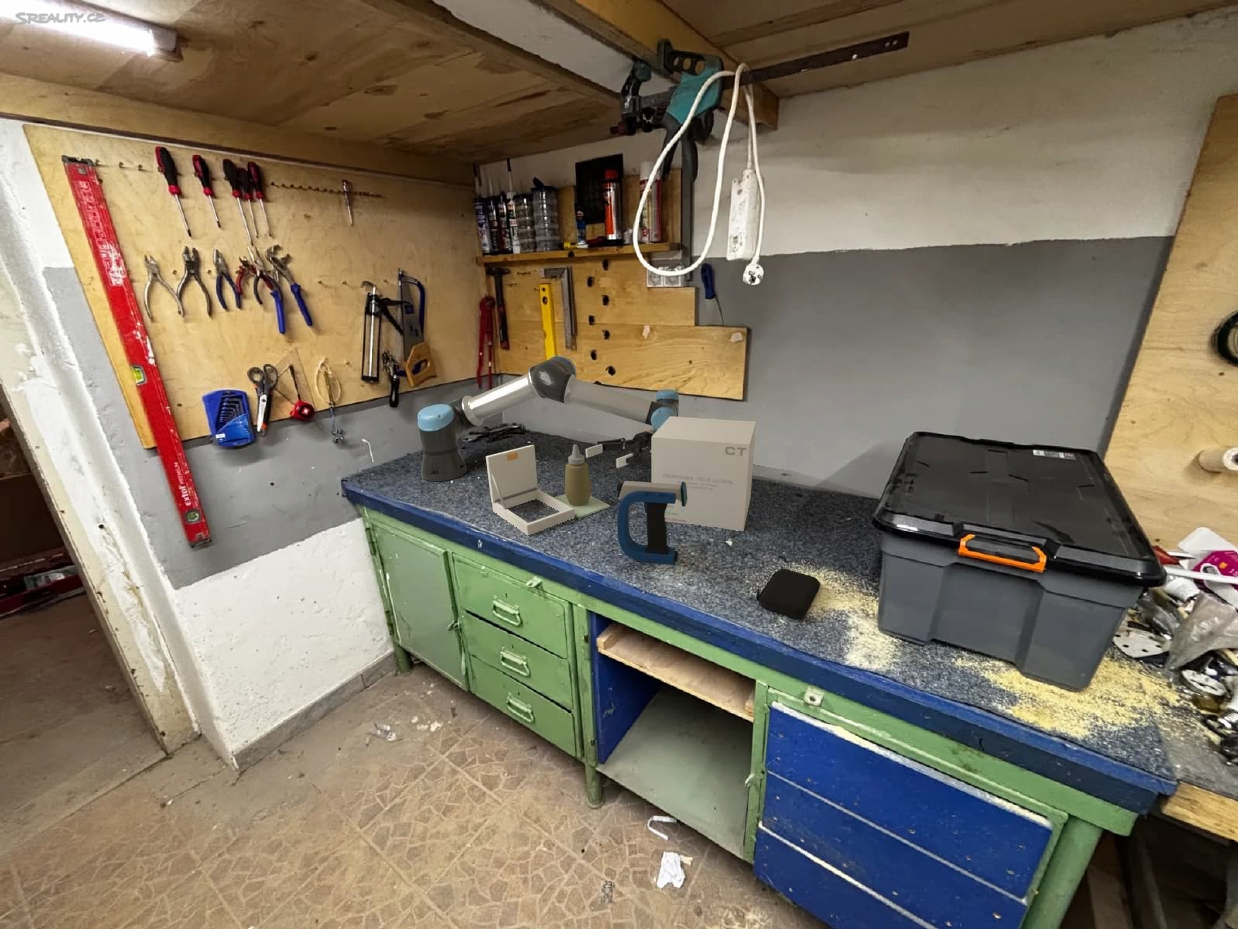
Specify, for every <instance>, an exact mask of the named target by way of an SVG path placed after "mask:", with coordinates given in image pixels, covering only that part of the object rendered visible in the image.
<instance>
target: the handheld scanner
mask: <svg viewBox="0 0 1238 929" xmlns="http://www.w3.org/2000/svg"><path fill="white" fill-rule="evenodd" d="M616 491H617V492H616V497H617V498H618V501H620V503H619V504H618V508H617V516H616V517H617V518H616V530H617V540H618V544H619V547H620V549H621V551H622V552H623V554H625V555H626V556H627V557H628V558H630V559H631V560H633V561H637V562H640V563H650V564H651V563H652V564H662V565H674V563H675V562H677V560H678V558H679V552H678V550H676V549H677V548H676V547H672V546H669V545H668V530H667V529H668V526H667V521H665V510H666V508H667V504H675V502H676V499H677V500H679V501H680V502H682V506H683V507H685V506H686V504H687V489H686V483H685V482H682V483H681V485H679V484H664V483H652V482H648V481H647V482H645V481H635V480H634V481H633V480H632V481H631V480H624V482H621V483H620V482H618V483H617V484H616ZM637 502H639V503H640V502H641V503H643V505H644V513H645V514H646V533H647V534H646V535H647V538H646V539H647V544H641V543H639V542H636V541H635V540H634V539H633V538H632V536H631V533H630V523H629V522H630V519H629V518H630V515H629V514H630V512H629V511H630V505H631V504H633V503H637Z"/></svg>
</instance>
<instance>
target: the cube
mask: <svg viewBox="0 0 1238 929" xmlns="http://www.w3.org/2000/svg"><path fill="white" fill-rule="evenodd" d="M756 426H757V421H755V420H754V421H753V420H752V421H751V420H733V419H720V418H719V419H718V418H717V419H716V418H706V417H705V418H703V417H702V418H701V417H687V416H686V417H685V416H678V417H673V416H670V417H669V418H668V419H667V420H666V421H665V422H664V424H663V425H662V426H661V427H660V428H659V429H658V430H657V431H656V432H655V434H654V435H653V436H652V437H651V455H650V456H651V462H650V463H651V483H664V484H679V485H681V483H682V482H685V483H686V489H687V504H686V506H685V507H683V506H682V502H680V501H679V500H677V499H676V502H675V504H667V508H666V510H665V522H666V523H667V522H669V523H676V524H684V525H691V524H694V525H693V526H698V525H701V526H700V527H706V526H707V527H709V528H714V527H718V528H717V529H722V528H723V530H731V531H739V532H744V529H745V525H746V521H747V516H748V513H749V508H750V503H751V495H752V485H753V484H752V482H753V471H754V470H753V468H754V457H755V456H754V455H755V454H754V453H755V441H756Z"/></svg>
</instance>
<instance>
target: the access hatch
mask: <svg viewBox="0 0 1238 929" xmlns="http://www.w3.org/2000/svg"><path fill="white" fill-rule="evenodd" d="M485 460H486V467H487V468H486V470H487V477H488V483H489V484H488V486H489V492H490V493H489V494H490V502H491V505H492V511H493V513H495V514H496V513H497V514H496V515H498V516H499V517H501V519H503V520H505V521H506V520H507V521H506V522H508V523H509V524H510V525H512V526H513V525H514V526H513V527H514V528H516V527H517V528H516V529H518V530H519V531H520V532H522V533H523V534H525V535H527V536H528V535H529V536H532V535H534V534H536V533H539V531H540V532H542V531H545V530H547V529H546V528H548V527H550V528H553V527H555V526H554V525H556V524H558V525H561V524H563V523H562V522H564V523H566V522H565V521H567V520H569V521H572V520H574V518H575V517H576V516H574V509H573V508H572V507H570V506H568V505H566V504H564V503H563V502H561V501H559V500H557V499H555V498H554V497H553V496H552V495H549V493H546V492H544V491H543V490H541V489H540V488H539V487H538V486H539V484H538V475H537V464H536V461H537V460H536V451H535V445H534V444H530V445H526V446H521V447H518V448H514V449H510V450H506V451H501V452H498V453H494V454H489V455H486V456H485ZM531 500H532V501H534V500H537V501H539V500H540V501H539V502H541V503H542V502H543V503H542V504H544V503H545V504H544V505H546V504H547V505H546V506H547V507H549V506H550V507H549V508H551V507H552V509H553V508H554V509H555V510H554V509H553V510H554V511H556V510H558V511H559V512H558V511H557V512H556V513H553V514H550V515H547V516H545V517H542V518H539V519H536V520H533V521H531V522H528V521H526V520H524V518H522V517H520V516H518V515H517V514H515V513H514V512H512V511H511V510H510V509H509V508H513V507H516V506H518V505H522V504H524V503H528V501H529V502H531ZM571 519H572V520H571ZM567 522H568V521H567ZM560 523H561V524H560ZM552 526H553V527H552ZM556 526H557V525H556ZM544 529H545V530H544ZM548 529H549V528H548ZM531 534H532V535H531Z"/></svg>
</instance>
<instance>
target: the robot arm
mask: <svg viewBox="0 0 1238 929" xmlns="http://www.w3.org/2000/svg"><path fill="white" fill-rule="evenodd" d="M679 396H680V395H679V391H678V390H676V389H671V388H669V389H667V388H664V389H660V390H658V391H657V392H656V397H655V401H653V400H651V399H647V398H644V397H640V396H636V395H633V394H631V393H626V392H623V391H621V390H616V389H613V388H610V387H606V386H603V385H598V384H596V383H593V382H590V381H586V380H581V379H579V378H577V369H576V366H575V364H574V363H573V361H572V360H571V359H570V358H568V357H566V356H564V355H553V356H551V357H550V358H548V359H547V360H545V361H542V362H539V363H537V364H534V365H533V366H531V367H529V369H528V372H527V373H526V374H524V375H521V376H519V377H517V378H515V379H512V380H510V381H508V382H505V383H503V384H501V385H499V386H496V387H494V388H492V389H489V390H486V391H485V392H482V393H480V394H477V395H475V396H470V395H465V396H463V397H461V398H460V397H459V398H458V399H453V400H452V401H449V402H448V403H447V404H446V403H445V404H442V403H441V404H433V405H431V406H425V407H424V408H422V409H420V410H419V412H418V413H417V426H418V432H419V436H420V442H421V447H422V453H423V457H422V460H421V461H422V462H421V468H420V474H421V478H422V479H423V480H425V481H429V482H444V481H450V480H455V479H457V478H459V477H463V476H464V475H465V474H466V473H467V472H468V470H467V463H466V462H465V460H464V458H463V457H462V456H463V455H462V454H461V452H460V449H459V442H458V437H459V436H460V435H462V434H464V433H466V432H468V431H470V430H473V429H475V428H477V427H479V426H481V425H483V422H484V420H485V419H488V418H490V417H492V416H495V415H498V414H500V413H502V412H504V411H506V410H509V409H512V408H514V407H517V406H518V405H521V404H524V403H526V402H529V401H530V400H533V399H536V398H538V397H539V398H540V399H543V400H544V399H545V400H546V399H548V400H551V401H554V402H559V403H561V404H564V405H565V404H568V403H573V404H575V405H576V404H577V405H579V406H580V405H581V406H582V407H587V408H590V409H593V410H596V411H601V412H603V413H606V414H610V415H614V416H618V417H619V418H620V417H621V418H623V419H624V418H625V419H628V420H631V421H635V422H638V423H641V424H644V425H648V426H651V427H652V428H651V429H647V430H644V431H642V432H638V433H635V435H634V436H633V438H631V439H628V440H626V438H625V437H620V438H614V439H607V440H601V441H597V442H596V445H593V446H590V447H587V448H585V458H587V459H589V458H590V457H594V456H597V455H599V454H603V452H612V451H613V452H615V451H620V452H623V453H625V452H626V453H627V452H628V453H629V454H625V455H624V456H621V457H618V458H616V459H615V461H616V462H615V466H616V468H617V469H620V468H622V467H624V466H627V465H629V464H632V463H640V464H644V463H645V462H646V461H647V459H648V458H649V457H650V456H651V437H652V436H653V435H654V434H655V432H656V431H657V430H658V429H659V428H660V427H661V426H662V425H663V424H664V422H665V421H666V420H667V419H668V418H669V417H670V416H673V417H679V412H680V411H679V409H680V408H679V407H680V406H679V405H680V397H679Z"/></svg>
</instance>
